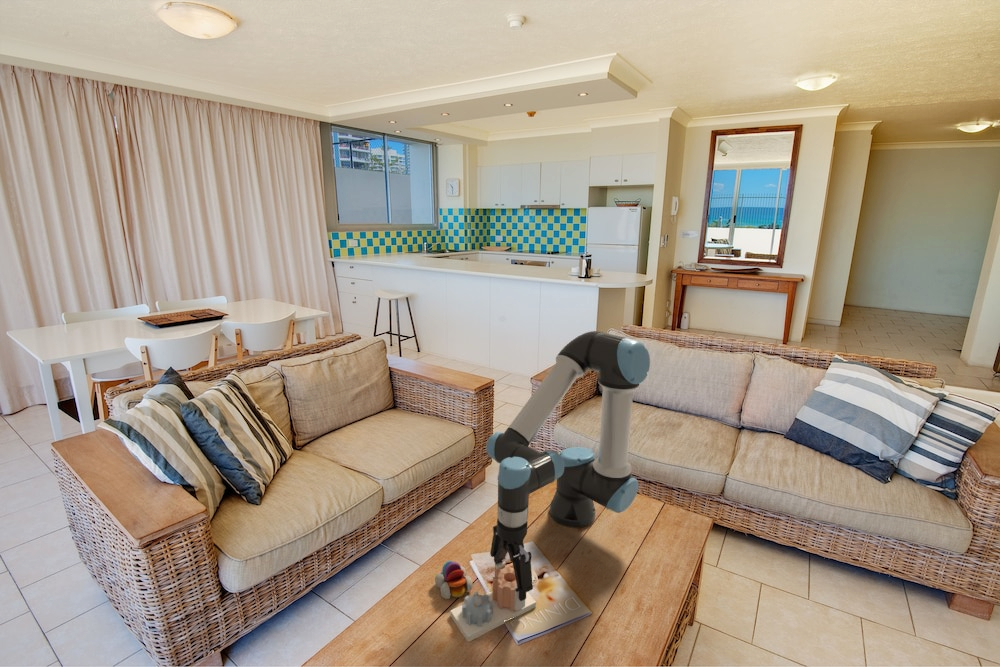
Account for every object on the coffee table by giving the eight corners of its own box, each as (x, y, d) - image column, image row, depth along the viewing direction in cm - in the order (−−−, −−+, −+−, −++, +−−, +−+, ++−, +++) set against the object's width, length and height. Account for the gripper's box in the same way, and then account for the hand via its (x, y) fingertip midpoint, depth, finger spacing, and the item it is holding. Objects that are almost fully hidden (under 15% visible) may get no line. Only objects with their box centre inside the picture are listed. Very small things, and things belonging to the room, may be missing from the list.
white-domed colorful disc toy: (445, 606, 122) (445, 583, 120) (432, 581, 130) (432, 558, 129) (475, 595, 126) (475, 572, 124) (461, 571, 134) (461, 549, 132)
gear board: (450, 615, 119) (450, 595, 118) (516, 584, 130) (516, 565, 128) (467, 642, 112) (468, 621, 111) (535, 606, 123) (536, 587, 121)
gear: (486, 592, 124) (487, 572, 123) (513, 580, 128) (514, 561, 127) (504, 614, 117) (505, 594, 116) (531, 601, 122) (532, 581, 120)
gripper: (477, 501, 124) (476, 575, 129) (524, 550, 107) (521, 632, 112) (501, 493, 128) (499, 564, 133) (551, 538, 111) (546, 618, 116)
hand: (509, 595), depth 123 cm, fingers closed on gear, 8 cm apart
